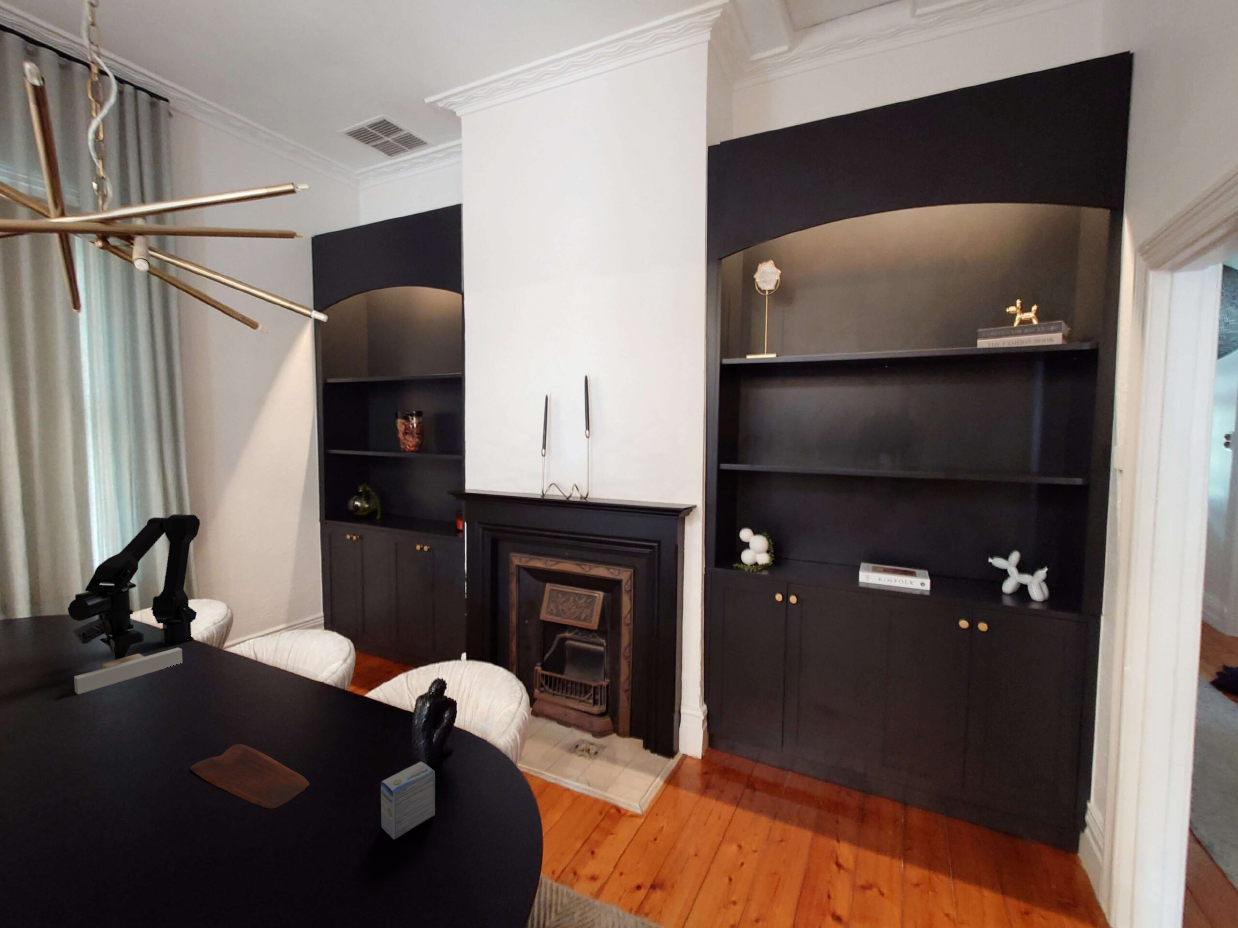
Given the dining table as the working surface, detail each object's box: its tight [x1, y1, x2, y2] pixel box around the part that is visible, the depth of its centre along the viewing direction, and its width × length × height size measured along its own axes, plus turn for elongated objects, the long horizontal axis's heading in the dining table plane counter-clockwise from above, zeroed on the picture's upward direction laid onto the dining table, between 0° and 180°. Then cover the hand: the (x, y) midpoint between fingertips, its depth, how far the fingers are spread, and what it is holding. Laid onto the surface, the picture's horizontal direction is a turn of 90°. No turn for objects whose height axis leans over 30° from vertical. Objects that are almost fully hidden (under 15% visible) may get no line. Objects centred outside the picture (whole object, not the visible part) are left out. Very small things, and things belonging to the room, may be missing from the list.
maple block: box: [101, 653, 145, 669], centre depth 153 cm, size 8×6×4 cm
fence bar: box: [73, 647, 183, 695], centre depth 150 cm, size 22×2×4 cm, turn 148°
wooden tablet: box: [189, 743, 310, 810], centre depth 110 cm, size 27×10×2 cm, turn 63°
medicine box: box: [380, 761, 436, 840], centre depth 98 cm, size 8×4×9 cm, turn 141°
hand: (118, 662), depth 155 cm, fingers closed
